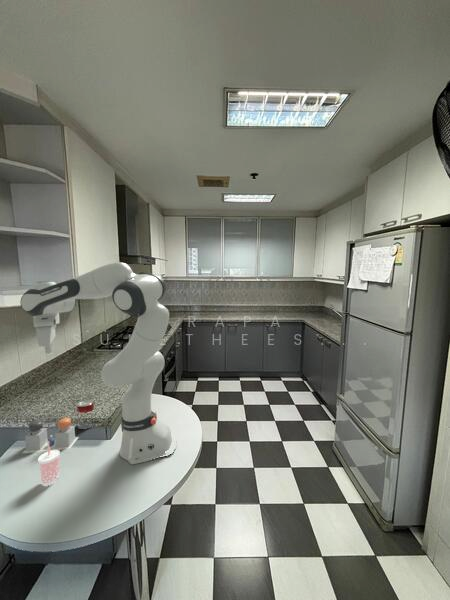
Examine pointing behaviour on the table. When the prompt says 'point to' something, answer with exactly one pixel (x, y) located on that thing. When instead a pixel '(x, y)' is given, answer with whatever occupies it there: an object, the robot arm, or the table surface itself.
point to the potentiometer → (51, 441)
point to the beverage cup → (49, 466)
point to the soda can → (85, 406)
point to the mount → (40, 440)
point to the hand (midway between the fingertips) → (48, 352)
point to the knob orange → (64, 424)
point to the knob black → (35, 426)
